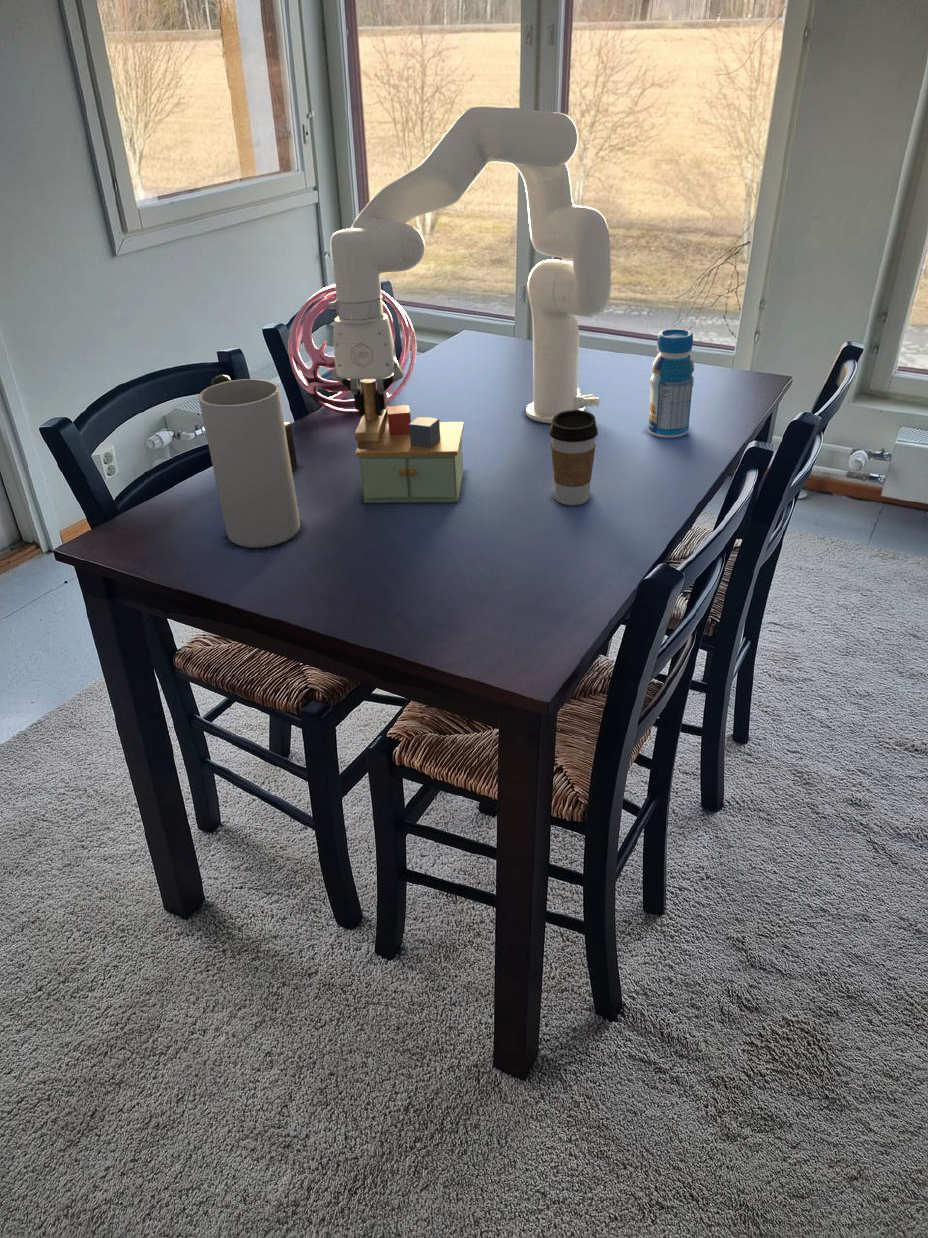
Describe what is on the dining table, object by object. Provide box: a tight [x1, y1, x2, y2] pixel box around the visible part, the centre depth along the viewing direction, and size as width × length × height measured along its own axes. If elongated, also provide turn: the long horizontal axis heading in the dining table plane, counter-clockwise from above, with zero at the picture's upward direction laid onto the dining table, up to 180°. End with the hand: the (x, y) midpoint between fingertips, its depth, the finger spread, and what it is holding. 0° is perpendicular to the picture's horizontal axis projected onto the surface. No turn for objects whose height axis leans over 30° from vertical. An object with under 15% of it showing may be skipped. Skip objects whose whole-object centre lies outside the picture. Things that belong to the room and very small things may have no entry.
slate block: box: [409, 415, 441, 448], centre depth 165 cm, size 4×4×4 cm
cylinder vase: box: [198, 378, 301, 549], centre depth 154 cm, size 12×12×25 cm
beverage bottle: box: [647, 328, 695, 439], centre depth 186 cm, size 8×8×20 cm
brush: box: [354, 379, 390, 449], centre depth 166 cm, size 4×13×10 cm, turn 175°
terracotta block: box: [387, 404, 412, 435], centre depth 170 cm, size 4×4×4 cm
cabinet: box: [354, 421, 465, 504], centre depth 171 cm, size 18×15×10 cm
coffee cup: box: [548, 410, 599, 506], centre depth 163 cm, size 8×8×15 cm
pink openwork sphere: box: [287, 283, 418, 415], centre depth 205 cm, size 28×28×27 cm
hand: (371, 412), depth 167 cm, fingers closed on brush, 2 cm apart
